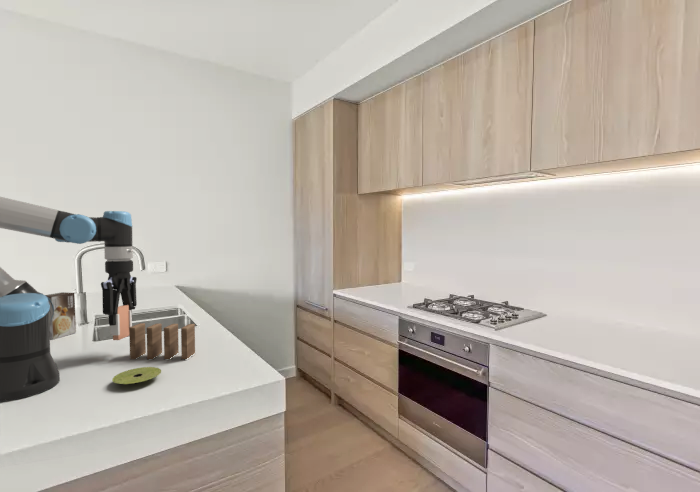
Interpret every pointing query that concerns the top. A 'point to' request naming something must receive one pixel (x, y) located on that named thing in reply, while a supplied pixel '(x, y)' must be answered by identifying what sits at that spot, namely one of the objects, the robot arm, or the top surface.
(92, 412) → the top surface
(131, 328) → the domino
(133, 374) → the green round flat disc
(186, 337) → the domino
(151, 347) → the domino
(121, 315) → the domino
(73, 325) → the coffee box
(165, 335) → the domino
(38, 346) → the robot arm
